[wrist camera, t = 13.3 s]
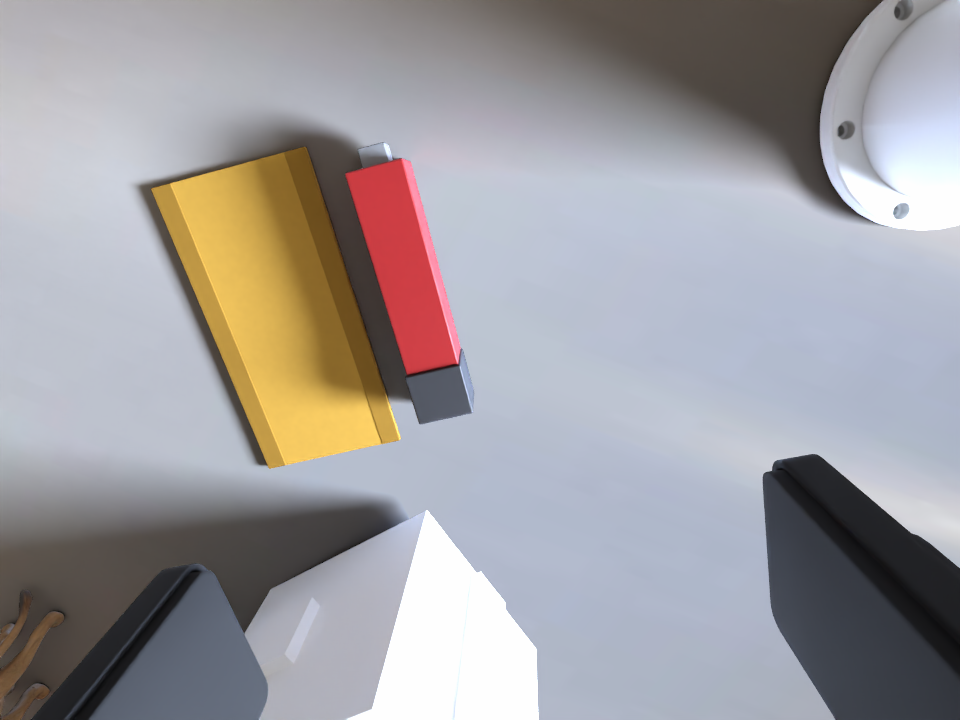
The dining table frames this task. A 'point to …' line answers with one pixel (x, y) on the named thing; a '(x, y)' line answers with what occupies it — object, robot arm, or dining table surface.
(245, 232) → the mustard cloth
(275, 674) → the blocky voxel creature
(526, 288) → the dining table surface
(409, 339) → the marker
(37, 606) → the dining table surface
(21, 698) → the lion figurine
